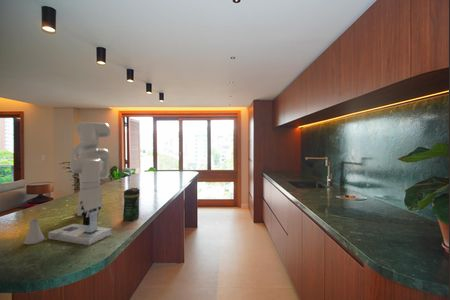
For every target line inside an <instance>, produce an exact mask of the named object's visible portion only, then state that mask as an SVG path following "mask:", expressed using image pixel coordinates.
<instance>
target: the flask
mask: <svg viewBox="0 0 450 300" xmlns="http://www.w3.org/2000/svg"><path fill="white" fill-rule="evenodd" d="M39 221H40V219H39V218H34V219H33V218H32V219H30V220H29V223H30V225H29V230H28V232H27V234H26V237H25V239H24V241H23V243H22V244H23V245H28V246H29V245H35V244H39V243H41V242H43V241H44V240H45V236H44V234H43V233H42V231H41V229H40V225H39Z"/></svg>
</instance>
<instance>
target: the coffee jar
mask: <svg viewBox="0 0 450 300" xmlns="http://www.w3.org/2000/svg"><path fill="white" fill-rule="evenodd" d="M138 218H140V189H139V188H138V187H130V188H129V189H128V188H127V189H125V190H124V191H123V213H122V219H123V220H124V221H127V222H128V221H134V220H137V219H138Z"/></svg>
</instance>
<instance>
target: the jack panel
mask: <svg viewBox="0 0 450 300" xmlns="http://www.w3.org/2000/svg"><path fill="white" fill-rule="evenodd" d="M111 235H112V228H109V227H101V226H97V230H95V231H92V232H85V231H84V225H83V224H80V223H71V224H68V225H66V226H63V227H59V228H57V229H54V230H51V231H48V239H49V240H55V241H61V242H67V243H73V244H79V245H85V246H90V245H93V244H95V243H97V242H98V241H100V240H103V239H105V238H107V237H109V236H111Z"/></svg>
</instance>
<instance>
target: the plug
mask: <svg viewBox="0 0 450 300" xmlns="http://www.w3.org/2000/svg"><path fill="white" fill-rule="evenodd" d="M85 213H86V212H85ZM88 217H90V225H84V231H85V232H92V231H95V230H97V227H98V222H97V211H94V210H93V209H92V210H89V216H88Z"/></svg>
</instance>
